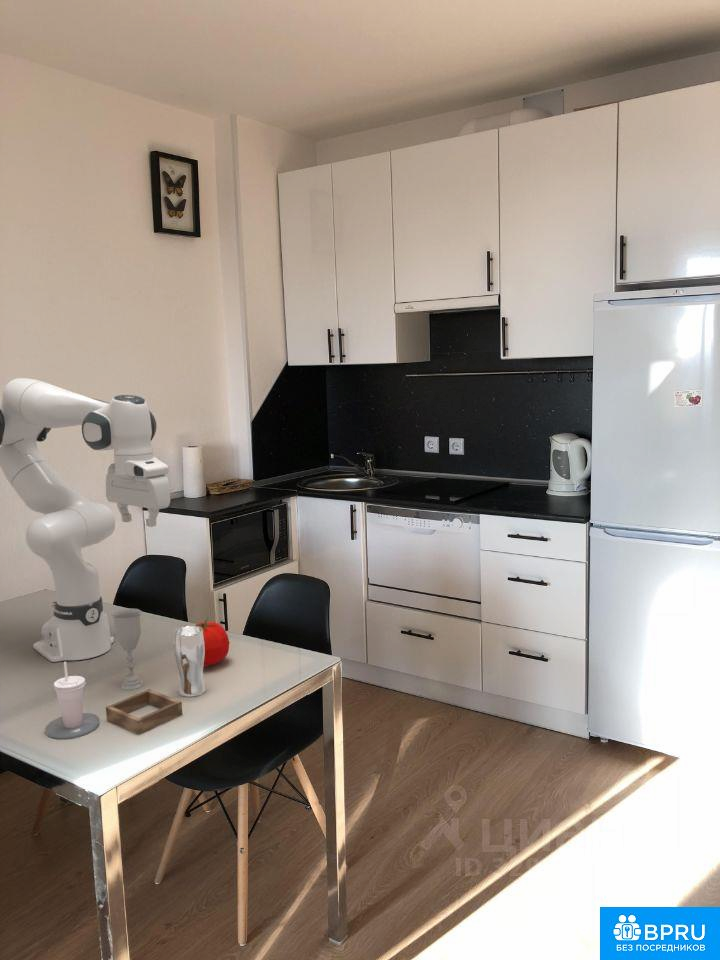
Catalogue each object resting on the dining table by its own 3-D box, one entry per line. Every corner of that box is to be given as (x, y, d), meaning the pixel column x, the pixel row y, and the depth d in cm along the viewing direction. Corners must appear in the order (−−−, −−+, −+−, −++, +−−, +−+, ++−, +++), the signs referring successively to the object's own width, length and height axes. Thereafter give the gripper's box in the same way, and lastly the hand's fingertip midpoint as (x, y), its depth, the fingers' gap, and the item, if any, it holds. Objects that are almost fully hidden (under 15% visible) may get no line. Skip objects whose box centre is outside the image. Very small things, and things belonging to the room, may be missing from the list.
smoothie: (64, 717, 180) (59, 656, 178) (93, 717, 180) (88, 656, 177) (52, 731, 174) (46, 668, 171) (82, 730, 173) (76, 667, 171)
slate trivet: (35, 729, 176) (35, 727, 176) (81, 711, 184) (80, 708, 184) (63, 744, 169) (63, 741, 169) (109, 724, 178) (109, 721, 177)
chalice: (152, 684, 198) (147, 612, 195) (127, 693, 193) (121, 620, 190) (136, 676, 203) (131, 606, 200) (111, 685, 198) (105, 613, 195)
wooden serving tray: (106, 720, 180) (105, 707, 179) (150, 701, 188) (149, 689, 188) (139, 734, 172) (137, 721, 172) (182, 714, 181) (181, 701, 181)
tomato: (222, 652, 217) (219, 612, 215) (236, 667, 207) (234, 624, 205) (177, 661, 212) (174, 620, 210) (190, 677, 201) (187, 633, 200)
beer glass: (175, 688, 195) (170, 628, 193) (204, 683, 197) (200, 623, 195) (179, 700, 189) (175, 637, 186) (210, 694, 191) (206, 633, 189)
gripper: (96, 464, 195) (101, 521, 197) (150, 470, 182) (154, 531, 184) (119, 460, 200) (123, 516, 202) (173, 466, 187) (177, 526, 189)
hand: (139, 524), depth 193 cm, fingers open, 8 cm apart
